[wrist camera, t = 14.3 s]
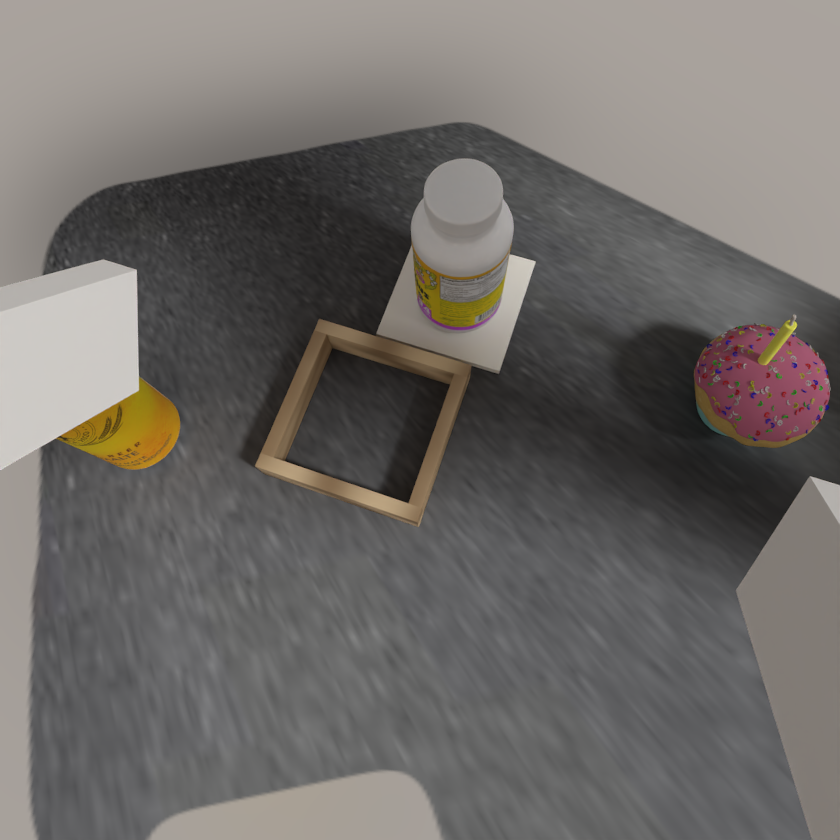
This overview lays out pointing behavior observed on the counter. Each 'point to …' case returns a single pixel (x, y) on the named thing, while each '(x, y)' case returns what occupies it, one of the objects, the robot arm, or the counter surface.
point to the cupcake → (761, 385)
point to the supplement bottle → (461, 245)
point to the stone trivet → (470, 347)
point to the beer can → (130, 430)
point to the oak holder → (301, 395)
